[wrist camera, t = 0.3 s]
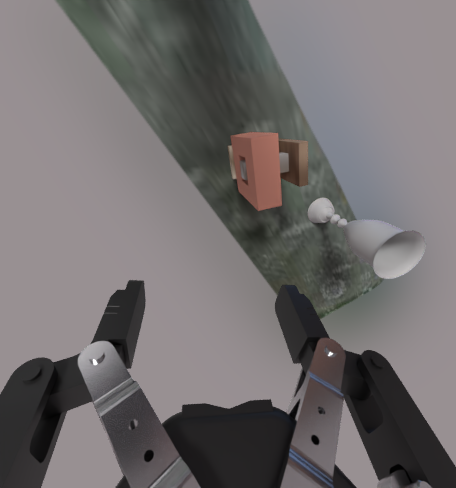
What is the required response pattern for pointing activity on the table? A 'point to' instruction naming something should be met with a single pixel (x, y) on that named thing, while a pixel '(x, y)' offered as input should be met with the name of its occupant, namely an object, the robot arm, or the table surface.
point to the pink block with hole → (258, 168)
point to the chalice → (375, 241)
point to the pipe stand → (283, 162)
